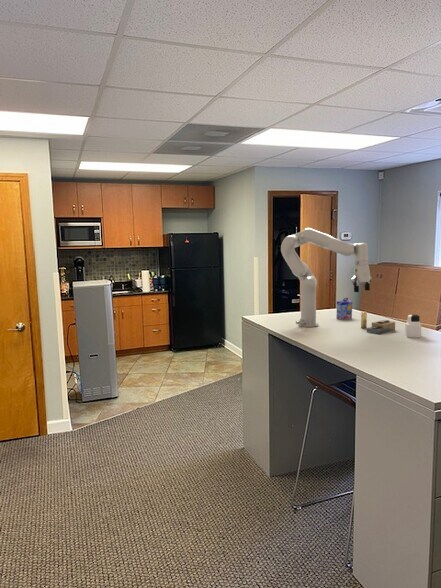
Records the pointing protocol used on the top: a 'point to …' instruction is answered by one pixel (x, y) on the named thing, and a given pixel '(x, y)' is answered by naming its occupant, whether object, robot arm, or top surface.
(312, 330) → the top surface
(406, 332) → the medicine bottle
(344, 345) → the top surface
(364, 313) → the pin
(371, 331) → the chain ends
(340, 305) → the ink cartridge box
